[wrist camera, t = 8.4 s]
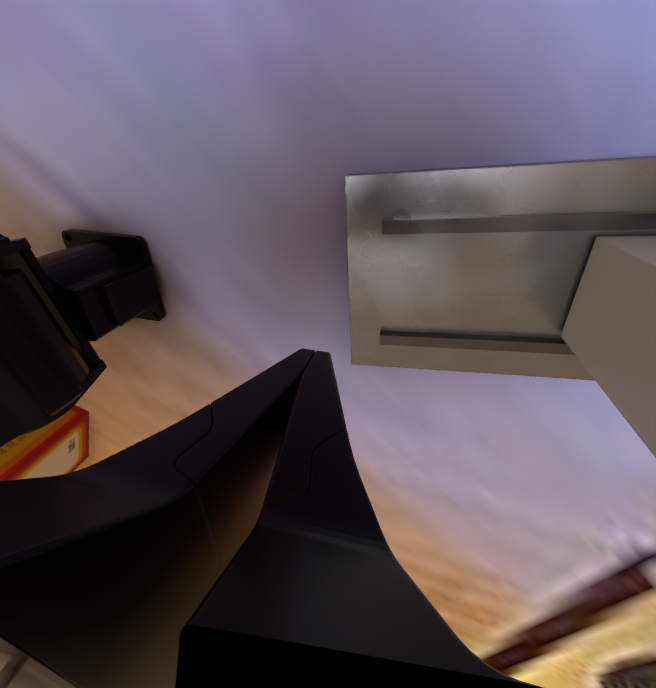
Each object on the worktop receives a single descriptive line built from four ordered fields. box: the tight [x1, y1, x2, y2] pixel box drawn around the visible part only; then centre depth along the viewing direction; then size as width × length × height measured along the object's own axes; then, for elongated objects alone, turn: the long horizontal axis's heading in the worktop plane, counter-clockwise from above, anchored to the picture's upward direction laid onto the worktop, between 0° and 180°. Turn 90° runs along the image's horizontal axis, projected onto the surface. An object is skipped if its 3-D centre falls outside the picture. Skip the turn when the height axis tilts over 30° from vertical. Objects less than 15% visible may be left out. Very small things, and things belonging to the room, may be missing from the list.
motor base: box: [345, 156, 656, 380], centre depth 14 cm, size 22×12×12 cm, turn 94°
